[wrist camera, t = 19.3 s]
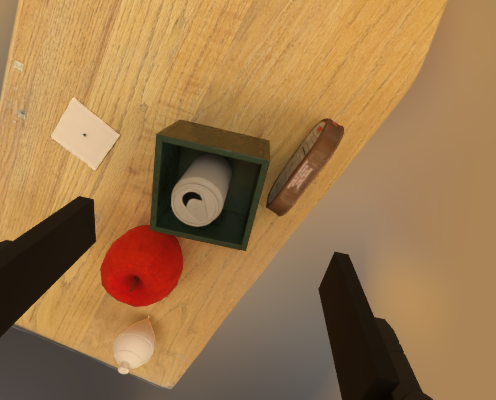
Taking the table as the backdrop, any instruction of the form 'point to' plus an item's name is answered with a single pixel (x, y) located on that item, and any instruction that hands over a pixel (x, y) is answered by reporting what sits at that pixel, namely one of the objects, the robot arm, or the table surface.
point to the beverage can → (202, 190)
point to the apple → (142, 266)
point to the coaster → (84, 134)
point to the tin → (304, 166)
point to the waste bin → (240, 190)
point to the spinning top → (134, 346)
